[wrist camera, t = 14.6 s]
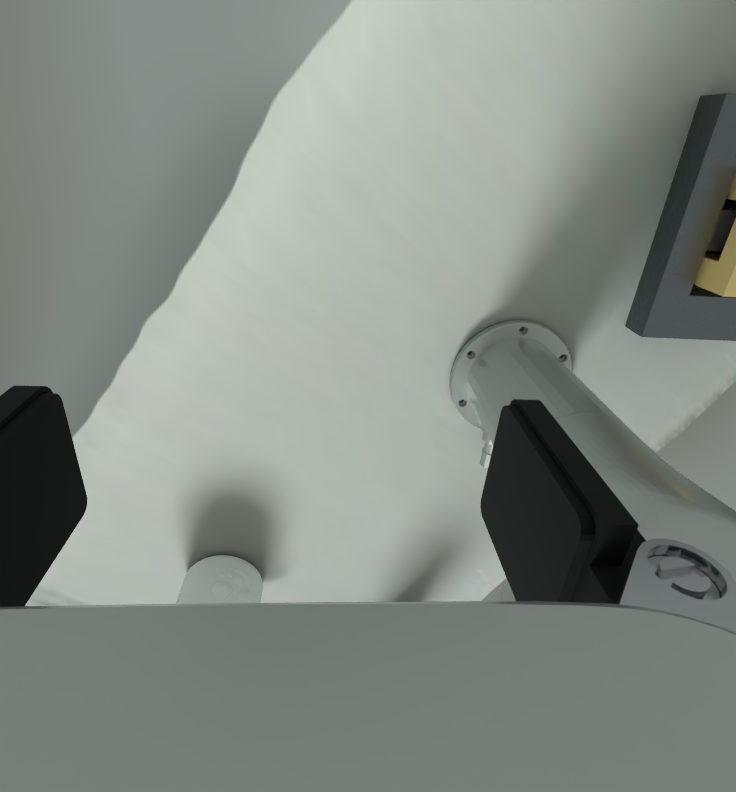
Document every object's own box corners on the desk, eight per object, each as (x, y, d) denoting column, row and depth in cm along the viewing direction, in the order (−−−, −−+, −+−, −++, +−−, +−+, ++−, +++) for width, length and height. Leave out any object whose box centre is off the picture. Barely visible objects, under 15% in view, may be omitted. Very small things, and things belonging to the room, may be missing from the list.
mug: (296, 570, 63) (291, 634, 55) (257, 617, 66) (247, 683, 58) (209, 534, 59) (190, 597, 51) (173, 587, 63) (150, 653, 55)
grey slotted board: (734, 330, 51) (756, 341, 48) (625, 326, 50) (641, 337, 47) (833, 107, 41) (867, 106, 39) (700, 96, 40) (726, 93, 38)
